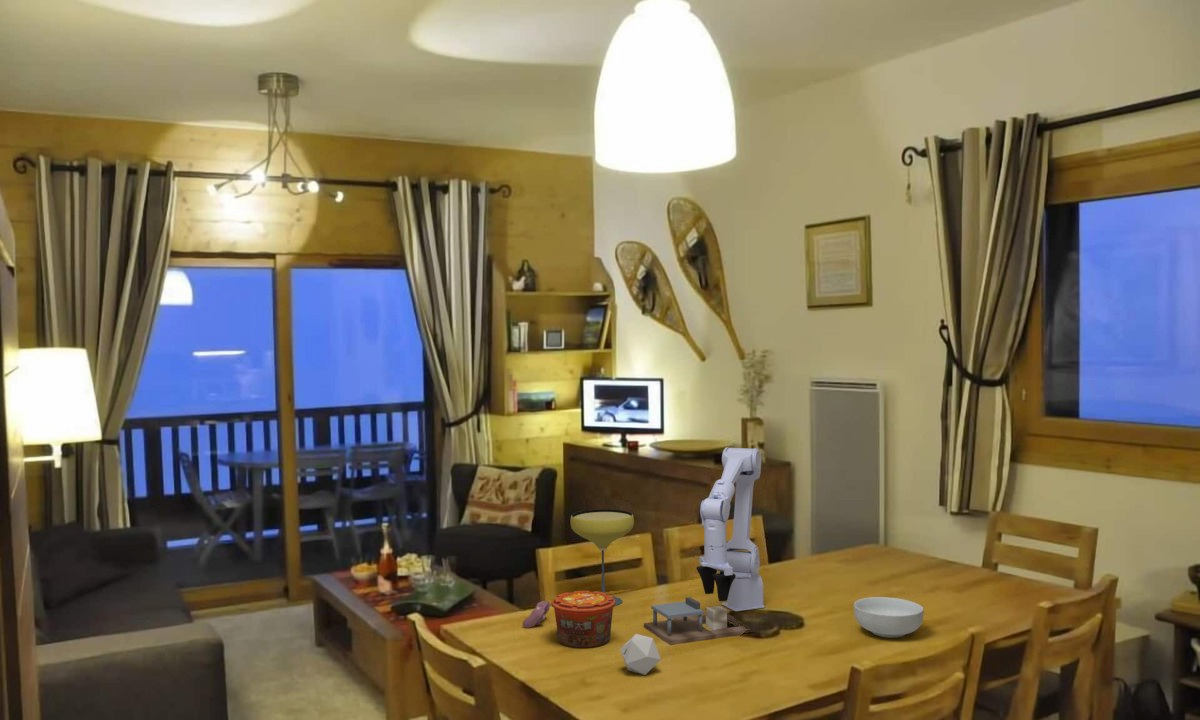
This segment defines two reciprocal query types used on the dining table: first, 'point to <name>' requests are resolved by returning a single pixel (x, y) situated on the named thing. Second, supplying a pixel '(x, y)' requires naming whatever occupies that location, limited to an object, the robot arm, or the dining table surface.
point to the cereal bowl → (888, 616)
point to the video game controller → (537, 614)
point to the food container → (583, 618)
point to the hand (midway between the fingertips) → (716, 597)
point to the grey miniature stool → (678, 611)
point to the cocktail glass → (602, 529)
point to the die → (640, 654)
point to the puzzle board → (691, 630)
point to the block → (716, 617)
